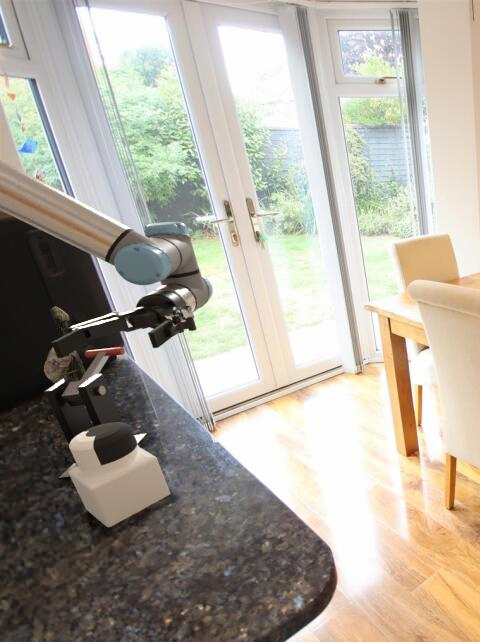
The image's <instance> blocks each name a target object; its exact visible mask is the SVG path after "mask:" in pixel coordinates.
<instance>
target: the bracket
mask: <svg viewBox="0 0 480 642" xmlns="http://www.w3.org/2000/svg"><path fill="white" fill-rule="evenodd" d="M70 382H74V381H73V379H72V377H71V378H64V379H62V380H61V381H59V382H58V383H56V384H55V383H54V384H53V385H52V386H50V387H49V388H47V389H45V390H44V391H43V393H44V395H45V397H46V399H47V400H48V404H49V406H50V408H51V410H52V412H53V414H54V416H55V418H56V421H57V422H58V425H59V427H60V429H61V431H62V433H63V436H64V438H65V440H66V442H67V444H68V445H69V444H70V442H71V441H72V439H73V438H74V437H76V436H77V435H79V434H80V433H82V432H83V431H85V430H87V429H89V428H92V427H95V426H98V425H101V424H105V423H113V422H123V420H122V418H121V415H120V413H119V410H118V407H117V406H116V403H115V401H114V398H113V396H112V393H111V391H110V389H109V386H108V384H107V381H106V379H105V376H104V374H103V373H99V374H97V375H94V376H93V377H91V378H90V379H89V380H87V381H86V382H84V383H83V384H82V385H80V386H79V387H77V389H78V391H79V393H80V396H81V398H82V400H83V402H84V405H85V406H84V405H80V406H70V405H69V404H68V403H67V402H66V401H65V399H64V398H63V397H62V396H61V395H62V394H63V392H64V391H65V389H66V388H67V386H68V385H69V383H70ZM85 407H86V408H85ZM147 435H148V433H140V434H134V436H135V439H136V441H137V443H138V445H140V443H141V442H142V441H143V440H144V439H145V438H146V437H147ZM76 467H78V465H77V463H76V461H75V462H73V464H72V465H70V466H69V467H68V468H67V469H66V470H65V471H64V472H63V473H62V474H61V475H60V476H58V478H57V479H58V480H64V479H71V477H70V475H69V471H70V470H71V469H74V468H76Z"/></svg>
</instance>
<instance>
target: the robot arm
mask: <svg viewBox="0 0 480 642" xmlns="http://www.w3.org/2000/svg"><path fill="white" fill-rule="evenodd" d="M0 211H1V212H3V213H6V214H8V215H10V216H12V217H14V218H16V219H18V220H20V221H22V222H24V223H26V224H28V225H30V226H31V227H34V228H36V229H38V230H40V231H42V232H44V233H47V234H48V235H50V236H53V237H54V238H56V239H59V240H61V241H63V242H65V243H67V244H68V245H71V246H73V247H75V248H77V249H79V250H81V251H83V252H85V253H88V254H89V255H91V256H94V257H95V258H98V259H100V260H101V261H103V262H106V263H108V264H110V265H111V266H113V267H114V268H115V271H116V272H117V273H118V275H119V276H120V277H121V278H122V279H123V280H125V281H126V282H128V283H130V284H133V285H137V286H149V285H150V286H151V285H154V284H156V283H161V286H160V287H157V288H156V289H154V290H153V291H151V292H150V293H149V292H148V293H147V294H145V295H143V296H142V297H141V298H140V299H139V300H138V301H137V303H136V306H135V308H132V309H131V310H128V311H124V312H119V311H116V310H115V311H112V312H110V313H108V314H105V315H102V316H99V317H96V318H92V319H89V320H87V321H83V322H80V323H77V324H73V325H70V326H69V327H66V328H64V329H62V330H63V332H62V334H63V333H64V335H65V336H64V335H62V336H61V337H59V338H57V339H55V340H53V341H51V342H50V344H51V347H53V348H54V351H55V353H56V355H57V357H58V358H64V357H65V356H67V355H69V354H70V353H72V352H74V351H75V350H76V351H77V350H79V349H80V348H82V347H85V346H86V345H88V344H89V341H92V340H96V339H99V338H102V337H106V336H110V335H113V334H117V333H121V332H125V333H131V332H134V331H138V330H141V329H142V330H146V329H148V328H150V329H152V330H150V331H148V332H147V335H148V337H149V341H150V344H151V346H152V349H159V348H160V347H161V346H163V345H164V344H165V343H166V342H168V341H169V340H170V339H172V338H173V337H175V336H177V335H178V334H182V333H184V332H185V330H188V331H189V332H194V331H197V330H198V328H197V326H196V322H195V314H194V313H195V312H196V311H198V310H199V309H201V308H203V307H204V306H205V305H206V304H207V303H208V302H209V301H210V300H211V298H212V296H213V293H214V292H213V291H214V289H213V285H212V283H211V282H210V280H208V278H207V277H205V276H204V275H202V272H201V270H200V268H199V264H198V260H197V257H196V253H195V250H194V246H193V242H192V237H191V236H190V233H189V230H188V227H187V226H186V224H185V223H183V222H181V221H165V222H154V223H149V224H146V225H145V226H144V227H143V231H144V234H142V233H140V232H139V231H137V230H135V229H133V228H131V227H129V226H127V225H126V224H123V223H122V222H121V221H118V220H116V219H114V218H112V217H111V216H108V215H106V214H104V213H103V212H101V211H99V210H98V209H96V208H93V207H91V206H90V205H88V204H86V203H84V202H82V201H81V200H79V199H76V198H75V197H73V196H71V195H69V194H68V193H66V192H64V191H62V190H60V189H58V188H56V187H54V186H52V185H50V184H49V183H47V182H45V181H43V180H41V179H40V178H37V177H36V176H34V175H32V174H30V173H27V172H26V171H24V170H22V169H21V168H18V167H17V166H14V165H13V164H11V163H9V162H7V161H5V160H4V159H2V158H0ZM128 324H129V325H130V326H129V325H128Z"/></svg>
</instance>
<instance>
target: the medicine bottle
mask: <svg viewBox="0 0 480 642" xmlns="http://www.w3.org/2000/svg"><path fill="white" fill-rule="evenodd" d="M134 435H135V433H134V431H133V428H132V426H131V425H130V424H128V423H126V422H123V421H122V422H113V423H105V424H101V425H98V426H95V427H94V426H93V427H92V428H89V429H87V430H85V431H83V432H82V433H80V434H79V435H77V436H76V437H74V438H73V439H72V441H71V442H70V444H68V448H69V450H70V452H71V454H72V457H73V459H74V461H75V462H76V463H77V465H78V467H76V468H74V469H71V470H70V471H69V475H70V477H71V478H70V479H71V481H72V483H73V485H74V487H75V490H76V491H77V493H78V496H79V498H80V500H81V502H82V504H83V506H84V508H85V510H86V511H87V512H88V513H90V514H91V515H92V516H93V517H94V518H95V519H97V520H98V521H99V522H101V524H103V525H104V526H105V527H107V528H111V527H113V526H115V525H117V524H118V523H121V522H123V521H124V520H126V519H128V518H130V517H131V516H133V515H135V514H137V513H139V512H140V511H142V510H144V509H146V508H148V507H150V506H152V505H154V504H156V503H157V502H159V501H161V500H162V499H165V498H166V497H168V496H170V495H171V491H170V488H169V486H168V483H167V481H166V478H165V476H164V473H163V470H162V469H161V466H160V463H159V460H158V458H157V456H155V455H154V454H152V453H151V452H148V451H147V450H145V449H144V448H142V447H140V446H139V444H138V443H137V441H136V439H135V436H134Z"/></svg>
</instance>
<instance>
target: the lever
mask: <svg viewBox="0 0 480 642" xmlns="http://www.w3.org/2000/svg"><path fill="white" fill-rule="evenodd" d="M125 353H126V350H125V348H124V347H122V346H121V347H120V346H119V347H110V348H101V349H91V350H90V349H89V350H86V351H85V352H84V357H85V358H86V359H93V358H94V359H93V360H92V362H91V363H90V365H89V366H88V368H87V370H85V374H84V375H83V377H82V379H81V380H80V381H75V382H70V383H69V385H68V386H67V388H66V389H65V391H64V392H63V394H62V395H61V396H62V397H63V398H64V399H65V401H66V402H67V403H68V404H69V405H70V406H80V405H84V402H83V400H82V398H81V396H80V393H79V391H78V389H77V387H79V386H80V385H82V384H83V383H84V382H86V381H87V380H89V379H90V378H91V377H93V376H94V375H97V374H100V372H101V370H102V369H103V367H104V366H105V365H106V363H107V361H108V360H109V358H110V357H112V356H113V357H115V356H123V355H125Z"/></svg>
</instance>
